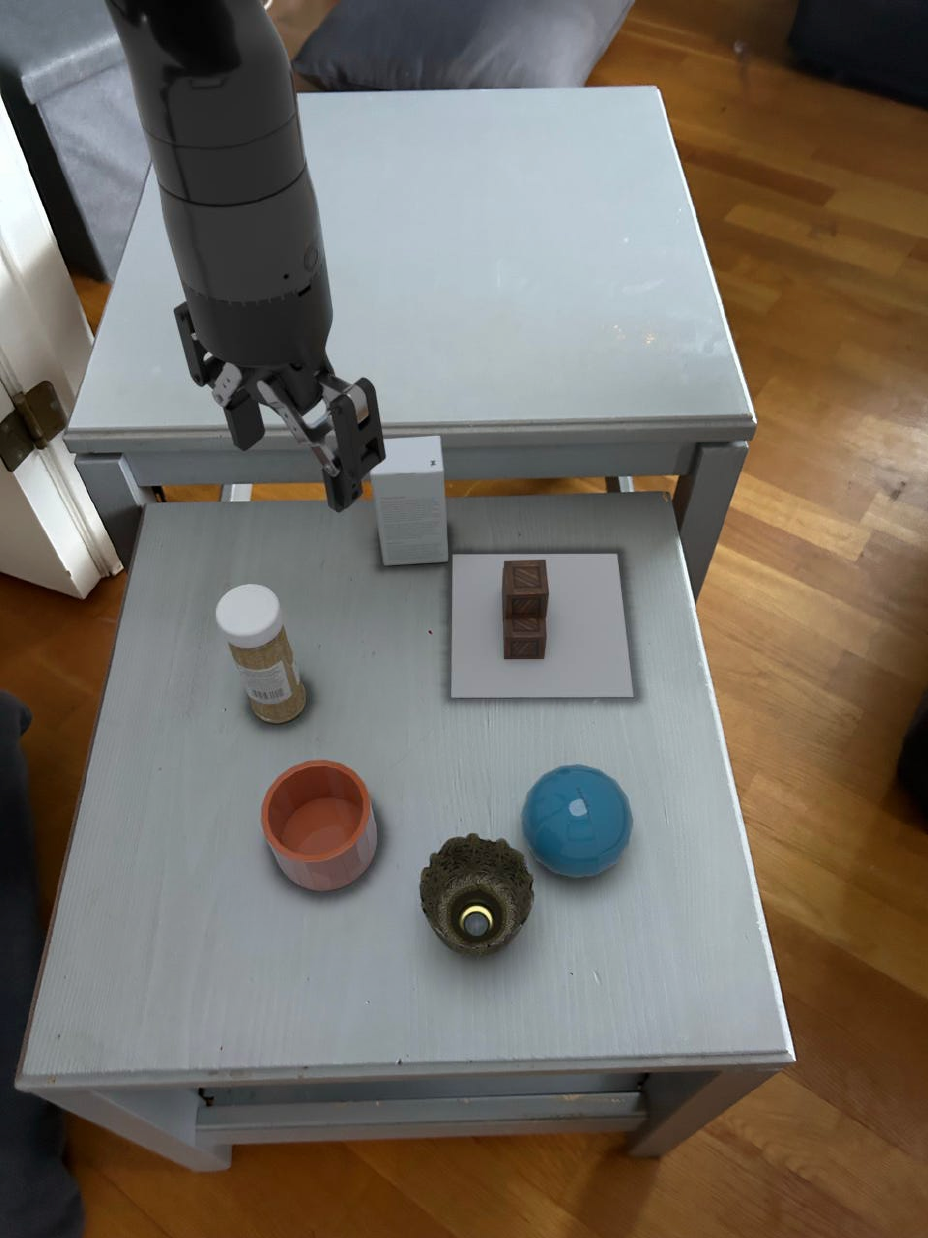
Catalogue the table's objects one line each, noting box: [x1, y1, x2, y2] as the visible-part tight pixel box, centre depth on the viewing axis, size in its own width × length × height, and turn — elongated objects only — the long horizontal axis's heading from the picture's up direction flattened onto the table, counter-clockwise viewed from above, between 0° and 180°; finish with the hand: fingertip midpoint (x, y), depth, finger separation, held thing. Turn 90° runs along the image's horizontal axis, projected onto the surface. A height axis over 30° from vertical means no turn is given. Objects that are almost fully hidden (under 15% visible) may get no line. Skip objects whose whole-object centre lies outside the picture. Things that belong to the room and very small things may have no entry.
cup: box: [418, 832, 535, 958], centre depth 64 cm, size 8×7×8 cm
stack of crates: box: [450, 553, 634, 699], centre depth 79 cm, size 15×15×7 cm
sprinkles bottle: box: [215, 583, 307, 724], centre depth 72 cm, size 5×5×14 cm
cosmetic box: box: [369, 435, 449, 566], centre depth 82 cm, size 6×4×12 cm
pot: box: [260, 759, 378, 892], centre depth 68 cm, size 8×8×6 cm
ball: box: [520, 763, 634, 879], centre depth 67 cm, size 8×8×8 cm
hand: (297, 471), depth 61 cm, fingers open, 8 cm apart
